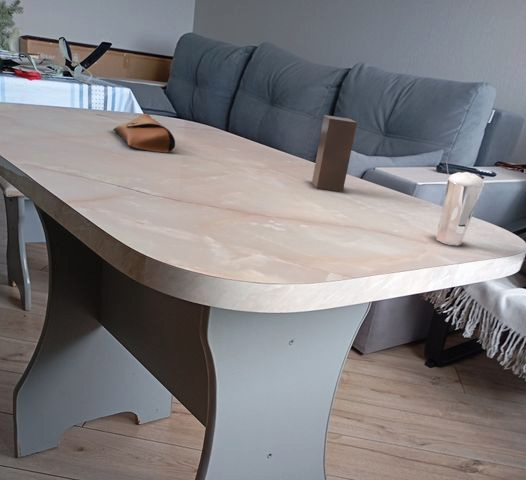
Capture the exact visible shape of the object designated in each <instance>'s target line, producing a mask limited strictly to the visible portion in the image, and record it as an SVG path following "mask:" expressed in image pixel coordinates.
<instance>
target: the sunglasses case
mask: <svg viewBox="0 0 526 480" xmlns="http://www.w3.org/2000/svg"><path fill="white" fill-rule="evenodd" d="M112 131H114V132H116V134H118V135H119V137H121V138H122V140H123V141H124V142H125V144H126V145H127V146H128V147H131V148H134V149H138V150H143V151H146V152H156V153H167V154H168V153H171V152H173V150H174V149H175V147H176V139H175V136H174V135H173V134H172V132H171V131H170V129H169V128H167V127H166V126H164V125H162V124H161V123H160V122H159V121H157V120H156V119H154V118H153V117H151V116H150V114H149V113H143V114H141V115H139V116H137V117H136V118H134V119H133V120H131V121H129V122H126V123H122V124H120V125H117V126H115V127H114V128H113V129H112Z"/></svg>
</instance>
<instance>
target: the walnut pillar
mask: <svg viewBox="0 0 526 480" xmlns="http://www.w3.org/2000/svg"><path fill="white" fill-rule="evenodd" d="M357 125H358V122H357V121H355V120H353V119H351V118H347V117H340V116H334V115H327V114H324V115H323V119H322V125H321V129H320V130H321V132H320V134H319V135H320V136H319V140H318V147H317V154H316V157H315V164H314V169H313V174H312V180H311V183H312V185H313V186H314V187H315V188H316V189H317V190H324V191H331V192H332V191H334V192H340V193H343V192H344V188H345V184H346V178H347V173H348V170H349V169H348V168H349V164H350V159H351V153H352V148H353V144H354V140H355V134H356V130H357Z"/></svg>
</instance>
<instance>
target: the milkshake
mask: <svg viewBox="0 0 526 480" xmlns="http://www.w3.org/2000/svg"><path fill="white" fill-rule="evenodd" d="M445 164H446V165H448V160H446V161H445ZM446 172H449V167H448V166H446ZM446 183H447V184H446V188H445V194H444V200H443V205H442V209H441V213H440V219H439V223H438V227H437V232H436V238H435V239H436V241H438V242H440V243H442V244H444V245H447V246H448V245H449V246H457V247H458V246H460V245H462V243H463V240H464V238H465V235H466V232H467V230H468V227H469V224H470V222H471V219H472V216H473V214H474V211H475V208H476V206H477V204H478V202H479V199H480V197H481V194H482V192H483V189H484V187H485V183H484V180H483V178H482V177H481V176H480V175H478V174H476V173H473V172H468V171H464V172H458V171H457V172H454V173H452V174H450V175H449V173H447V182H446Z"/></svg>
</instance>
